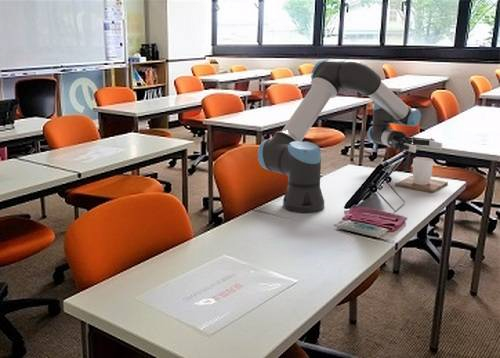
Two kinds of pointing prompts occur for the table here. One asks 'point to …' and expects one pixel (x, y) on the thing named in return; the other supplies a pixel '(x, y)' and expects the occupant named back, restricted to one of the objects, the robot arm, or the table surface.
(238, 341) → the table surface
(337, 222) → the table surface
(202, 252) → the table surface
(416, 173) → the white cup
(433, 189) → the walnut board
